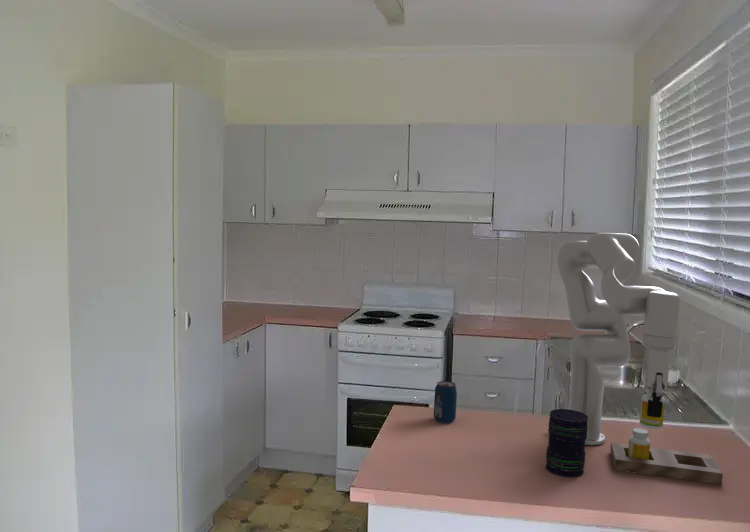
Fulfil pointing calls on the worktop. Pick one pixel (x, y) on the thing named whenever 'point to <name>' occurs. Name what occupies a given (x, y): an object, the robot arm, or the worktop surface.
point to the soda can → (445, 402)
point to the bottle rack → (668, 464)
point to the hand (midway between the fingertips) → (652, 411)
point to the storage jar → (566, 443)
